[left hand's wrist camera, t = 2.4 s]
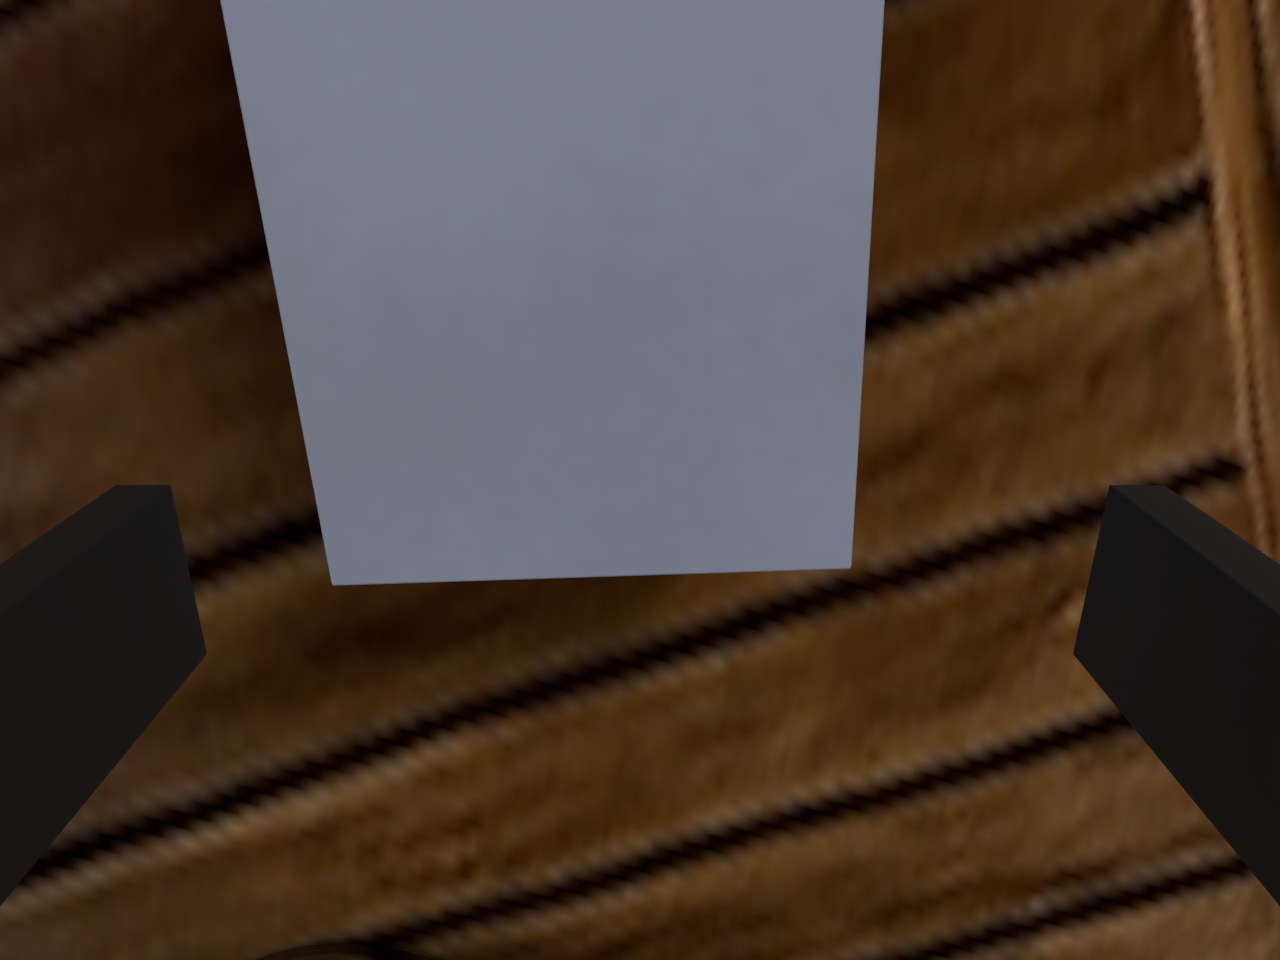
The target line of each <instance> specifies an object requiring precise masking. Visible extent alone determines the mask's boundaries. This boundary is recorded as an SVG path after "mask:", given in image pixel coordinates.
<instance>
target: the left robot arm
mask: <svg viewBox="0 0 1280 960" xmlns="http://www.w3.org/2000/svg"><path fill="white" fill-rule="evenodd" d="M206 654H207V653H206V648H205V643H204V639H203V634H202V629H201V625H200V620H199V616H198V611H197V606H196V602H195V597H194V592H193V588H192V583H191V579H190V574H189V569H188V565H187V560H186V555H185V551H184V546H183V541H182V537H181V532H180V528H179V523H178V518H177V514H176V509H175V504H174V500H173V495H172V491H171V486H170V485H115V486H114V487H113V488H111V489H110V490H108V491H107V492H105V493H104V494H102V495H101V496H99V497H98V498H97V499H95V500H94V501H92V502H91V503H89V504H88V505H86V506H85V507H83V508H82V509H81V510H79V511H78V512H76V513H75V514H73V515H72V516H70V517H69V518H67V519H66V520H64V521H63V522H62V523H60V524H59V525H57V526H56V527H54V528H53V529H51V530H50V531H48V532H47V533H46V534H44V535H43V536H41V537H40V538H38V539H37V540H35V541H34V542H32V543H31V544H30V545H28V546H27V547H25V548H24V549H22V550H21V551H19V552H18V553H16V554H15V555H14V556H12V557H11V558H9V559H8V560H6V561H5V562H3V563H2V564H0V905H1V904H2V903H3V902H4V901H5V899H6V898H7V897H8V896H9V894H10V893H11V892H12V891H13V890H14V888H15V887H16V886H17V885H18V883H19V882H20V881H21V880H22V879H23V877H24V876H25V875H26V874H27V872H28V871H29V870H30V869H31V868H32V866H33V865H34V864H35V863H36V861H37V860H38V859H39V858H40V857H41V855H42V854H43V853H44V852H45V851H46V849H47V848H48V847H49V846H50V844H51V843H52V842H53V841H54V840H55V838H56V837H57V836H58V835H59V833H60V832H61V831H62V830H63V829H64V827H65V826H66V825H67V824H68V822H69V821H70V820H71V819H72V818H73V816H74V815H75V814H76V813H77V811H78V810H79V809H80V808H81V807H82V805H83V804H84V803H85V802H86V801H87V799H88V798H89V797H90V796H91V794H92V793H93V792H94V791H95V790H96V788H97V787H98V786H99V785H100V783H101V782H102V781H103V780H104V779H105V777H106V776H107V775H108V774H109V772H110V771H111V770H112V769H113V768H114V766H115V765H116V764H117V763H118V761H119V760H120V759H121V758H122V757H123V755H124V754H125V753H126V752H127V750H128V749H129V748H130V747H131V746H132V744H133V743H134V742H135V741H136V740H137V738H138V737H139V736H140V735H141V733H142V732H143V731H144V730H145V729H146V727H147V726H148V725H149V724H150V722H151V721H152V720H153V719H154V718H155V716H156V715H157V714H158V713H159V711H160V710H161V709H162V708H163V707H164V705H165V704H166V703H167V702H168V700H169V699H170V698H171V697H172V696H173V694H174V693H175V692H176V691H177V689H178V688H179V687H180V686H181V685H182V683H183V682H184V681H185V680H186V679H187V677H188V676H189V675H190V674H191V672H192V671H193V670H194V669H195V668H196V666H197V665H198V664H199V663H200V661H201V660H202V659H203V658H204V657H205V655H206ZM1073 654H1074V655H1075V657H1076V658H1077V659H1078V660H1079V661H1080V663H1081V664H1082V665H1083V666H1084V668H1085V669H1086V670H1087V671H1088V672H1089V674H1090V675H1091V676H1092V677H1093V679H1094V680H1095V681H1096V682H1097V683H1098V685H1099V686H1100V687H1101V688H1102V689H1103V691H1104V692H1105V693H1106V694H1107V696H1108V697H1109V698H1110V699H1111V700H1112V702H1113V703H1114V704H1115V705H1116V707H1117V708H1118V709H1119V710H1120V711H1121V713H1122V714H1123V715H1124V716H1125V718H1126V719H1127V720H1128V721H1129V722H1130V724H1131V725H1132V726H1133V727H1134V729H1135V730H1136V731H1137V732H1138V733H1139V735H1140V736H1141V737H1142V738H1143V740H1144V741H1145V742H1146V743H1147V744H1148V746H1149V747H1150V748H1151V749H1152V750H1153V752H1154V753H1155V754H1156V755H1157V757H1158V758H1159V759H1160V760H1161V761H1162V763H1163V764H1164V765H1165V766H1166V768H1167V769H1168V770H1169V771H1170V772H1171V774H1172V775H1173V776H1174V777H1175V779H1176V780H1177V781H1178V782H1179V783H1180V785H1181V786H1182V787H1183V788H1184V790H1185V791H1186V792H1187V793H1188V794H1189V796H1190V797H1191V798H1192V799H1193V801H1194V802H1195V803H1196V804H1197V805H1198V807H1199V808H1200V809H1201V810H1202V811H1203V813H1204V814H1205V815H1206V816H1207V818H1208V819H1209V820H1210V821H1211V822H1212V824H1213V825H1214V826H1215V827H1216V829H1217V830H1218V831H1219V832H1220V833H1221V835H1222V836H1223V837H1224V838H1225V840H1226V841H1227V842H1228V843H1229V844H1230V846H1231V847H1232V848H1233V849H1234V851H1235V852H1236V853H1237V854H1238V855H1239V857H1240V858H1241V859H1242V860H1243V861H1244V863H1245V864H1246V865H1247V866H1248V868H1249V869H1250V870H1251V871H1252V872H1253V874H1254V875H1255V876H1256V877H1257V879H1258V880H1259V881H1260V882H1261V883H1262V885H1263V886H1264V887H1265V888H1266V890H1267V891H1268V892H1269V893H1270V894H1271V896H1272V897H1273V898H1274V899H1275V901H1276V902H1277V903H1278V904H1279V905H1280V564H1278V563H1277V562H1275V561H1274V560H1272V559H1271V558H1269V557H1268V556H1266V555H1265V554H1264V553H1262V552H1261V551H1259V550H1258V549H1256V548H1255V547H1253V546H1252V545H1250V544H1249V543H1248V542H1246V541H1245V540H1243V539H1242V538H1240V537H1239V536H1237V535H1236V534H1234V533H1233V532H1232V531H1230V530H1229V529H1227V528H1226V527H1224V526H1223V525H1221V524H1220V523H1218V522H1217V521H1216V520H1214V519H1213V518H1211V517H1210V516H1208V515H1207V514H1205V513H1204V512H1202V511H1201V510H1199V509H1198V508H1197V507H1195V506H1194V505H1192V504H1191V503H1189V502H1188V501H1186V500H1185V499H1183V498H1182V497H1181V496H1179V495H1178V494H1176V493H1175V492H1173V491H1172V490H1170V489H1169V488H1167V487H1166V486H1165V485H1110V486H1109V491H1108V495H1107V500H1106V504H1105V509H1104V514H1103V518H1102V523H1101V528H1100V532H1099V537H1098V541H1097V546H1096V551H1095V555H1094V560H1093V565H1092V569H1091V574H1090V579H1089V583H1088V588H1087V592H1086V597H1085V602H1084V606H1083V611H1082V616H1081V620H1080V625H1079V629H1078V634H1077V639H1076V643H1075V648H1074V653H1073ZM259 960H431V959H429V958H426V957H422V956H419V955H416V954H412V953H409V952H404V951H400V950H396V949H391V948H384V947H378V946H370V945H358V944H328V945H315V946H308V947H300V948H296V949H291V950H286V951H282V952H279V953H276V954H272V955H269V956H266V957H264V958H261V959H259Z"/></svg>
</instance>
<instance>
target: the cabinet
mask: <svg viewBox="0 0 1280 960" xmlns="http://www.w3.org/2000/svg"><path fill="white" fill-rule="evenodd" d="M220 1H221V6H222V11H223V17H224V22H225V27H226V32H227V38H228V43H229V48H230V53H231V59H232V64H233V69H234V74H235V80H236V85H237V90H238V95H239V100H240V106H241V111H242V116H243V121H244V127H245V132H246V137H247V142H248V148H249V153H250V158H251V163H252V169H253V174H254V179H255V184H256V190H257V195H258V200H259V205H260V210H261V216H262V221H263V226H264V231H265V237H266V242H267V247H268V252H269V258H270V263H271V268H272V273H273V279H274V284H275V289H276V294H277V299H278V305H279V310H280V315H281V320H282V326H283V331H284V336H285V341H286V347H287V352H288V357H289V362H290V368H291V373H292V378H293V383H294V389H295V394H296V399H297V404H298V409H299V415H300V420H301V425H302V430H303V436H304V441H305V446H306V451H307V457H308V462H309V467H310V472H311V478H312V483H313V488H314V493H315V498H316V504H317V509H318V514H319V519H320V525H321V530H322V535H323V540H324V546H325V551H326V556H327V561H328V567H329V572H330V577H331V582H332V585H334V586H337V585H367V584H398V583H428V582H458V581H489V580H519V579H549V578H580V577H610V576H641V575H671V574H701V573H732V572H762V571H792V570H823V569H849V568H851V563H852V546H853V529H854V512H855V495H856V478H857V461H858V444H859V427H860V410H861V393H862V376H863V359H864V342H865V325H866V308H867V291H868V274H869V257H870V240H871V223H872V206H873V189H874V172H875V155H876V138H877V121H878V104H879V87H880V70H881V53H882V36H883V18H884V1H885V0H220Z"/></svg>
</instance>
